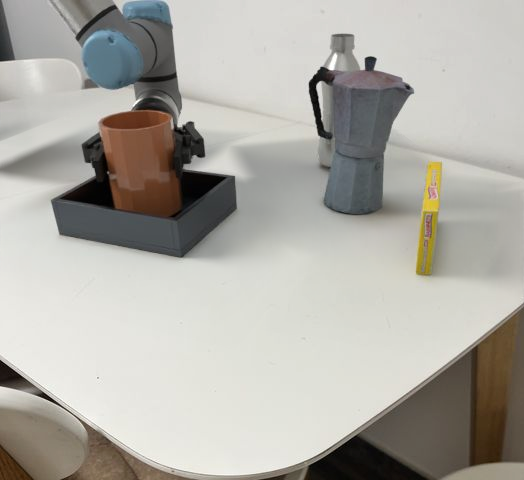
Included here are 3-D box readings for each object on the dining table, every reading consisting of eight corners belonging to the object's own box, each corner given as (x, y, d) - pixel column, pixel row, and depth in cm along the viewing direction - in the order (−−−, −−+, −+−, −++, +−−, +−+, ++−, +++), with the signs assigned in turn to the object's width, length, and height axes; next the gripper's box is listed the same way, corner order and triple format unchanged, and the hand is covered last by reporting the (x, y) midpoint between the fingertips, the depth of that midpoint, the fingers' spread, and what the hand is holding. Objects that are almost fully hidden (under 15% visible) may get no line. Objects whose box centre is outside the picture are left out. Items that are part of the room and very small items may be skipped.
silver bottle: (347, 157, 102) (355, 30, 90) (360, 170, 97) (370, 37, 84) (312, 161, 101) (315, 33, 89) (323, 174, 96) (329, 40, 83)
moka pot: (388, 224, 79) (406, 66, 67) (290, 205, 85) (290, 57, 73) (410, 200, 86) (430, 52, 74) (317, 184, 92) (321, 45, 80)
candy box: (419, 219, 80) (428, 160, 75) (435, 220, 80) (444, 161, 75) (412, 274, 68) (422, 208, 63) (431, 276, 67) (442, 210, 62)
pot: (102, 215, 79) (83, 126, 72) (139, 191, 86) (125, 107, 79) (159, 225, 76) (146, 133, 69) (194, 199, 83) (185, 113, 76)
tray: (59, 234, 79) (50, 200, 76) (127, 192, 91) (121, 160, 88) (181, 257, 73) (176, 221, 70) (236, 208, 85) (235, 175, 82)
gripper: (224, 142, 94) (225, 193, 76) (88, 148, 93) (57, 201, 75) (221, 93, 89) (221, 135, 71) (78, 99, 88) (43, 144, 71)
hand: (137, 169), depth 73 cm, fingers closed on pot, 9 cm apart
